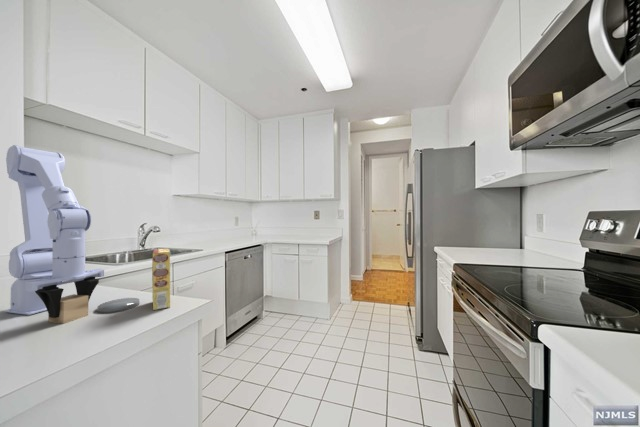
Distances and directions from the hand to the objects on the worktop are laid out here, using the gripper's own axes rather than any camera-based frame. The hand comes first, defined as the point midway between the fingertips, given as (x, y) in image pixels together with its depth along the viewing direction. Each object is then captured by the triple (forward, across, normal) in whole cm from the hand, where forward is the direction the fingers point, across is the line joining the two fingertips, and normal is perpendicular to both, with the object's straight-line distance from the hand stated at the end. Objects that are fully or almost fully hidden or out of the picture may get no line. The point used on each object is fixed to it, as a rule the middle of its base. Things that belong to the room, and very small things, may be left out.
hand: (68, 312), depth 60 cm
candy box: (+2, +13, -14) cm, 19 cm away
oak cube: (+1, 0, 0) cm, 1 cm away
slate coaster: (+1, +9, -4) cm, 10 cm away
